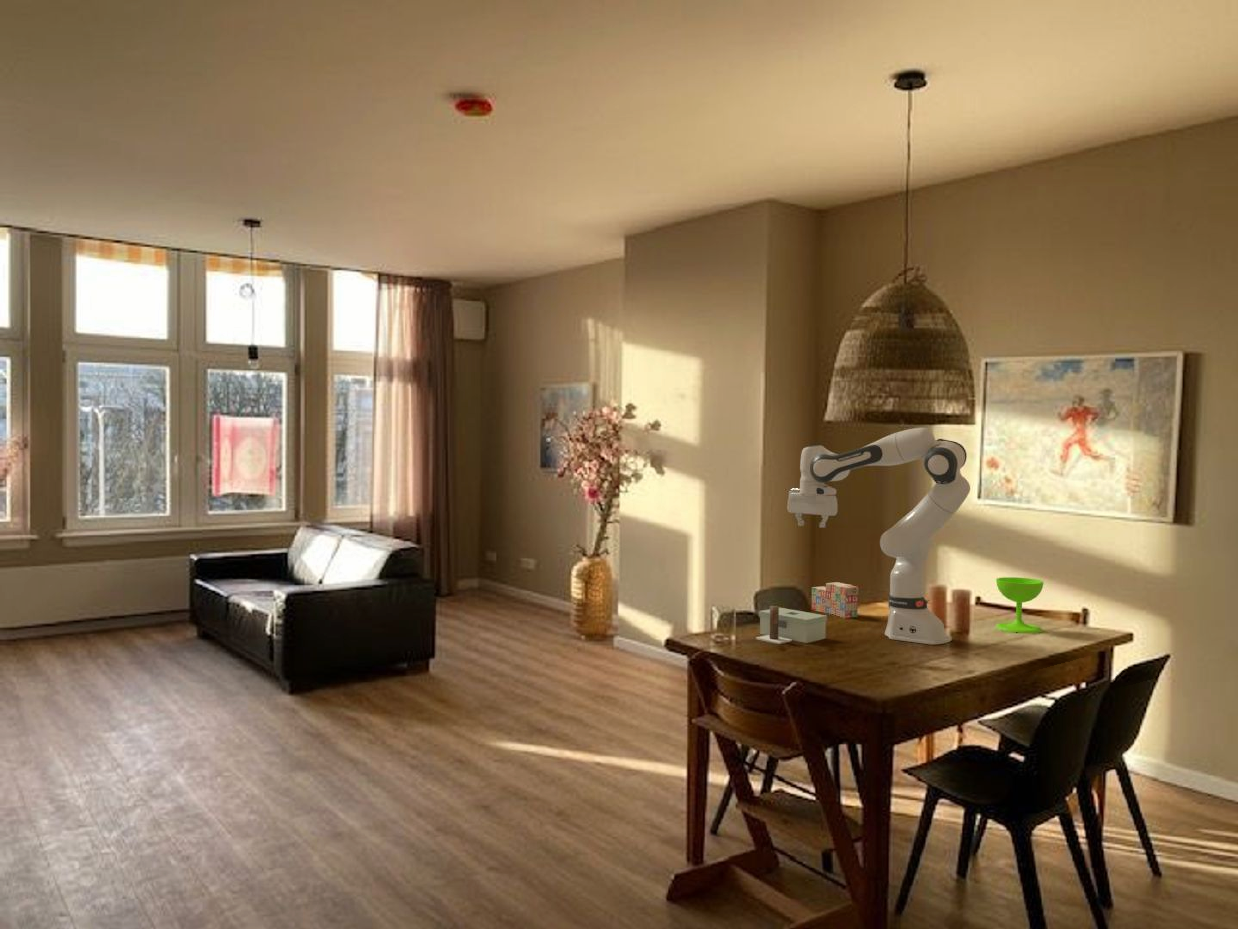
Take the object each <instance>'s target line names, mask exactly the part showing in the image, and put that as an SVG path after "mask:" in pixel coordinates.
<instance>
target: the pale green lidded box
mask: <svg viewBox="0 0 1238 929" xmlns="http://www.w3.org/2000/svg"><path fill="white" fill-rule="evenodd" d="M778 607H779V631H778V637H782V638H787V639H792V641H794V642H799V643H805V644H808V643H813V642H817V641H821V640H824V639H826V627H827V626H826V625H827V624H826V623H827V621H828V615H826V614H819V613H813V612H807V611H803V610H797V609H790V608H785V607H780V606H778ZM758 617H759V634H760V635H763V636H765V635H770V608H769V609H763V610H759V611H758Z"/></svg>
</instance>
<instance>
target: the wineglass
mask: <svg viewBox="0 0 1238 929" xmlns="http://www.w3.org/2000/svg"><path fill="white" fill-rule="evenodd" d="M995 580H996V586H997V589H998V591H999V592H1000V593H1001V595H1002V596H1004V597H1005V598H1006V599H1007V600H1009V601H1011V602H1015V603H1016V607H1015V608H1016V610H1015V612H1016V613H1015V614H1016V615H1015V620H1014V621H1012V622H1008V621H1007V622H1000V623H997V624H996V625H995V627H996V628H997V630H998V629H999V631H1001V630H1003V631H1002V632H1006V633H1007V632H1008V633H1012V632H1018V633H1017V634H1021V633H1035V634H1040V633H1039V632H1041V633H1043V631H1044V630H1043V629H1042V628H1041V627H1040V626H1038V625H1036V624H1031V623H1025V622H1024V621H1023V619H1022V618H1023V616H1022V614H1023V603H1027V602H1031V601H1032V600H1034V599H1037V597H1039V595H1040V594H1041V592H1042V589H1043V587H1044V581H1043V580H1041V579H1035V578H1028V577H1017V576H1014V577H1013V576H1012V577H1011V576H1009V577H1008V576H1007V577H1006V576H1003V577H997V578H996V579H995ZM996 628H995V629H996Z"/></svg>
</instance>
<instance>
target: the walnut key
mask: <svg viewBox="0 0 1238 929" xmlns="http://www.w3.org/2000/svg"><path fill="white" fill-rule="evenodd" d="M779 607H780V606H778V605H769V609H770V639H778V631H779Z"/></svg>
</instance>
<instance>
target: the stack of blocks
mask: <svg viewBox="0 0 1238 929" xmlns="http://www.w3.org/2000/svg"><path fill="white" fill-rule="evenodd" d="M858 602H859V587H858V586H855V585H853V584H849V583H848V584H847V583H842V582H838V581H837V582H836V581H834V582H827V583H825V586H812V587H811V610H813V611H816V612H820V613H823V614H827V613H829V614H828V615H830V614H834V615H836V616H835V617H838V616H840V617H839V618H841V617H843V618H842V619H845V618H846V619H850V618H849V617H856V618H858ZM834 615H833V616H834Z"/></svg>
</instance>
